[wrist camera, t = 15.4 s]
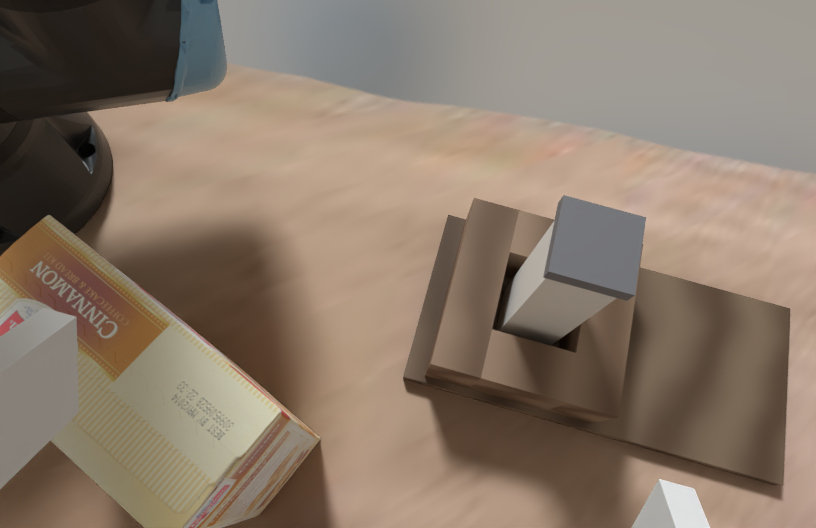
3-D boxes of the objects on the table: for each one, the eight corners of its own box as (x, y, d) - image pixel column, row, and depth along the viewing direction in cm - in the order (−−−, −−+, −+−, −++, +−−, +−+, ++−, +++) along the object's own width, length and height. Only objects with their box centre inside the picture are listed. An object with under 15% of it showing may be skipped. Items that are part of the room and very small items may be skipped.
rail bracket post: (489, 338, 45) (548, 271, 30) (502, 285, 47) (563, 195, 32) (547, 355, 45) (635, 295, 30) (557, 300, 46) (645, 217, 31)
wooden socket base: (403, 378, 45) (407, 364, 39) (446, 219, 49) (456, 186, 44) (774, 484, 44) (834, 486, 38) (782, 311, 48) (836, 290, 43)
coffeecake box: (323, 437, 43) (287, 410, 25) (257, 520, 41) (163, 558, 22) (178, 314, 45) (46, 206, 27) (107, 386, 43) (-87, 322, 25)
